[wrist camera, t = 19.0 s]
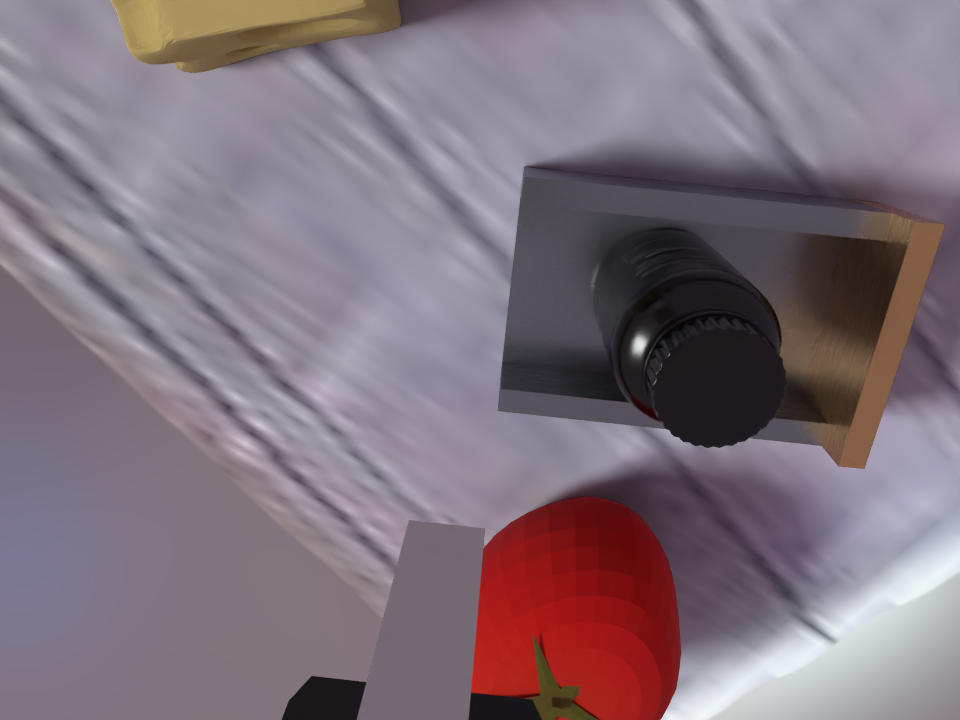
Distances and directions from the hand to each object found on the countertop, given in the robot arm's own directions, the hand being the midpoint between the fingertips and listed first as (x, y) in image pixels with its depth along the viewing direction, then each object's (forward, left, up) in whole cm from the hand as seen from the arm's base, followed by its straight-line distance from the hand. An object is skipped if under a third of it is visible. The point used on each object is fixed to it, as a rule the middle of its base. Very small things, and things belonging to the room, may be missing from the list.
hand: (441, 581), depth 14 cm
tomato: (+6, -17, -25) cm, 30 cm away
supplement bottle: (+9, 0, -24) cm, 26 cm away
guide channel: (+9, 0, -24) cm, 26 cm away
